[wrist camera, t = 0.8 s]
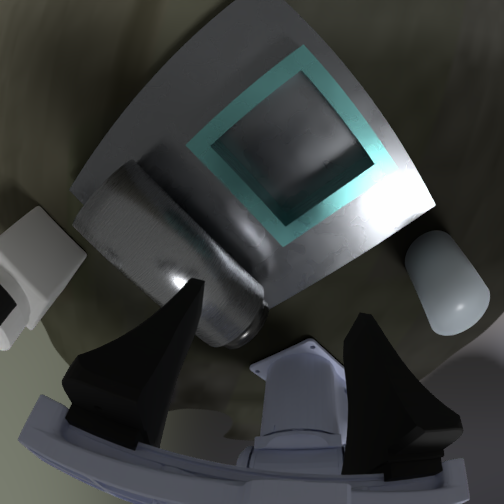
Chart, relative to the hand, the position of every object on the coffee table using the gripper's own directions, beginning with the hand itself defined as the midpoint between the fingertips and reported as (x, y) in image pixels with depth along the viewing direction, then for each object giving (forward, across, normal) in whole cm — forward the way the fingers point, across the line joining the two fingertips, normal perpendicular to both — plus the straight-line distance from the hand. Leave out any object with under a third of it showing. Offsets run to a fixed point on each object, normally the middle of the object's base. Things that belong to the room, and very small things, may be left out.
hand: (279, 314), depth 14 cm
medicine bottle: (+10, +21, +8) cm, 25 cm away
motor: (+10, +4, -2) cm, 10 cm away
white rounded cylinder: (+10, -12, 0) cm, 16 cm away
